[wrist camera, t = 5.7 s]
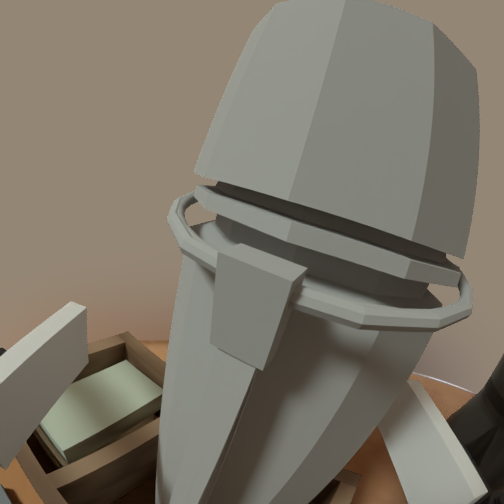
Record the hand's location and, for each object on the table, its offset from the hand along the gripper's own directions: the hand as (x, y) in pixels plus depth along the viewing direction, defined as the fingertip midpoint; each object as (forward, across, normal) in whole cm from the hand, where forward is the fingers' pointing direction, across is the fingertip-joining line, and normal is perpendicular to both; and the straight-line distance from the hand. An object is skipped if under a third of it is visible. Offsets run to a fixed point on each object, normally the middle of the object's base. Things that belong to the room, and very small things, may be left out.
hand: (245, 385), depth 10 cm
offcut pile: (+4, -9, -14) cm, 17 cm away
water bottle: (-2, 0, -14) cm, 14 cm away
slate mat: (-14, -11, -14) cm, 23 cm away
